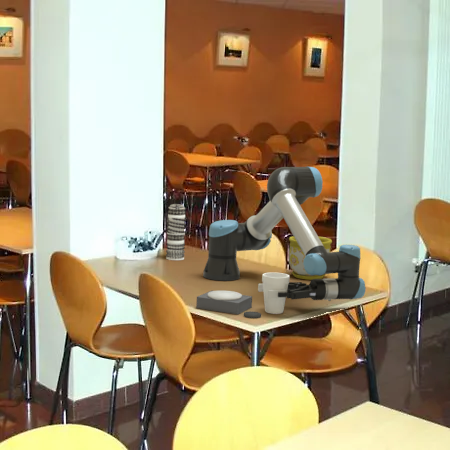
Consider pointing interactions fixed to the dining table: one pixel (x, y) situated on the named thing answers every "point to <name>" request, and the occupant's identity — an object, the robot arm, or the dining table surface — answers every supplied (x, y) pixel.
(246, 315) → the lens cap
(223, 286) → the dining table surface
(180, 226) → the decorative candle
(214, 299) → the mount
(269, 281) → the foam cup
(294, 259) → the flowerpot
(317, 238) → the robot arm
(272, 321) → the dining table surface
